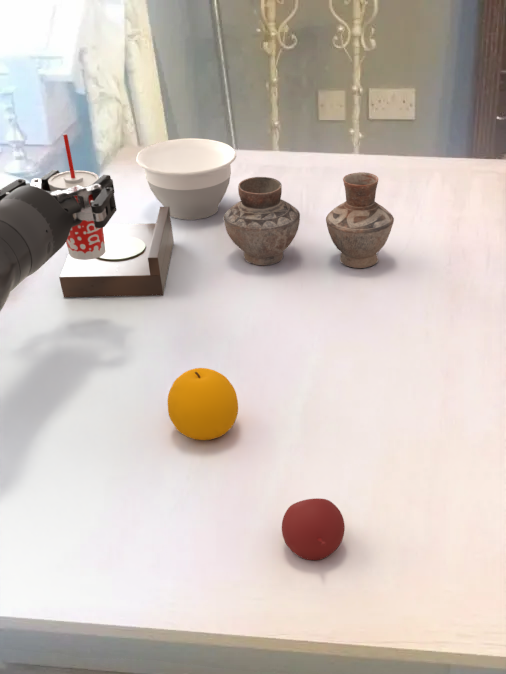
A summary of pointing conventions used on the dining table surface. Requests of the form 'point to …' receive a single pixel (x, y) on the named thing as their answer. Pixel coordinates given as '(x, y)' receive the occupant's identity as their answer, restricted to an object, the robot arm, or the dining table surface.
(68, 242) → the beverage cup
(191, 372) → the apple
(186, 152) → the bowl
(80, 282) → the shelf
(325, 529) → the fruit
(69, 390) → the dining table surface
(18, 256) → the robot arm
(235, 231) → the pottery
